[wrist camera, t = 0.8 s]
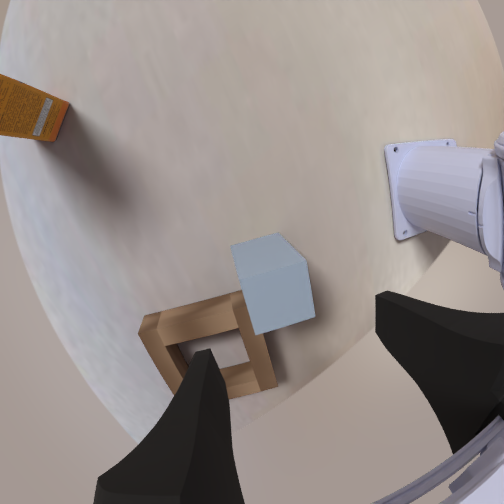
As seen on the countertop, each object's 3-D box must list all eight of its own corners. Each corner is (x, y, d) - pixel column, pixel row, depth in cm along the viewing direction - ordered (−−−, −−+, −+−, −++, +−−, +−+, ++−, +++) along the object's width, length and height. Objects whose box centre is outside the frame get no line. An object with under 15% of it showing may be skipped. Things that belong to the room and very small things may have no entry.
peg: (278, 232, 19) (306, 260, 14) (287, 276, 20) (315, 316, 15) (230, 245, 19) (239, 279, 13) (242, 289, 20) (255, 335, 14)
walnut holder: (249, 287, 20) (254, 303, 18) (272, 367, 23) (278, 386, 21) (144, 315, 20) (137, 333, 17) (183, 388, 22) (182, 408, 20)
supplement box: (73, 99, 14) (-14, 65, 4) (56, 142, 15) (-40, 139, 5) (44, 92, 13) (-40, 65, 3) (28, 133, 14) (-62, 130, 4)
